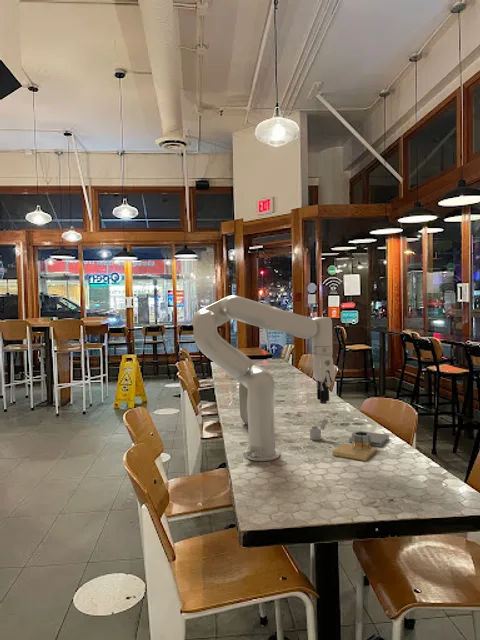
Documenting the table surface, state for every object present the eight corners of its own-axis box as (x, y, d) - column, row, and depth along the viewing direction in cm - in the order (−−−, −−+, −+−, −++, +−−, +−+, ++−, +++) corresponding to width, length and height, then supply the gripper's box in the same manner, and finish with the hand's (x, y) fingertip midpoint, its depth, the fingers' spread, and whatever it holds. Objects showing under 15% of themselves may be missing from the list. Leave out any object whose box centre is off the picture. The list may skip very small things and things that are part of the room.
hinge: (365, 461, 152) (365, 446, 151) (332, 455, 158) (332, 441, 158) (389, 438, 174) (388, 426, 174) (359, 434, 181) (358, 422, 181)
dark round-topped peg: (325, 404, 163) (325, 380, 162) (317, 403, 164) (317, 379, 164) (328, 402, 165) (328, 379, 165) (321, 401, 167) (320, 378, 167)
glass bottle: (261, 427, 197) (258, 364, 196) (238, 426, 199) (235, 364, 198) (264, 421, 207) (262, 361, 206) (242, 420, 209) (240, 361, 208)
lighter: (310, 439, 177) (309, 419, 177) (310, 438, 179) (309, 418, 178) (328, 439, 177) (327, 419, 176) (327, 437, 178) (327, 418, 178)
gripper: (340, 352, 157) (341, 404, 158) (323, 348, 173) (324, 395, 173) (320, 353, 155) (321, 405, 156) (305, 349, 171) (306, 396, 172)
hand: (323, 399), depth 165 cm, fingers closed on dark round-topped peg, 2 cm apart
